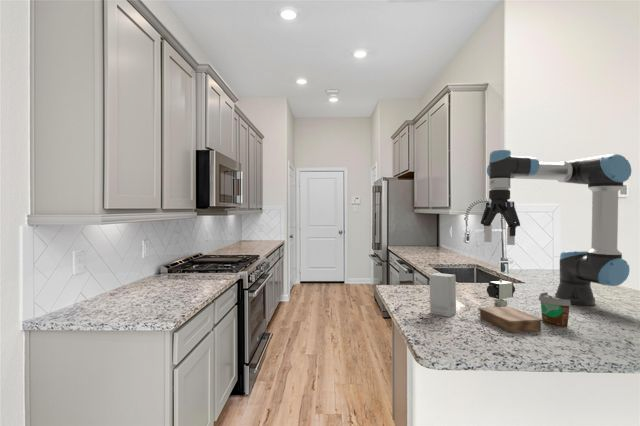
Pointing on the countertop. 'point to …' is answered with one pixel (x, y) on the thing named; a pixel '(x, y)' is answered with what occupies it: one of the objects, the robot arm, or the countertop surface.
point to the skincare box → (443, 294)
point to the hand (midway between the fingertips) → (498, 243)
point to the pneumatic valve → (500, 292)
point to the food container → (554, 310)
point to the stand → (510, 319)
